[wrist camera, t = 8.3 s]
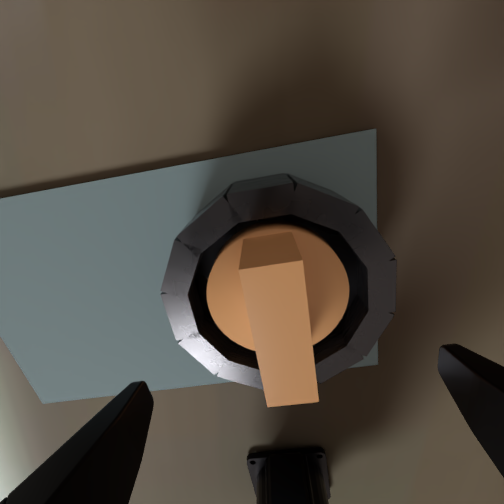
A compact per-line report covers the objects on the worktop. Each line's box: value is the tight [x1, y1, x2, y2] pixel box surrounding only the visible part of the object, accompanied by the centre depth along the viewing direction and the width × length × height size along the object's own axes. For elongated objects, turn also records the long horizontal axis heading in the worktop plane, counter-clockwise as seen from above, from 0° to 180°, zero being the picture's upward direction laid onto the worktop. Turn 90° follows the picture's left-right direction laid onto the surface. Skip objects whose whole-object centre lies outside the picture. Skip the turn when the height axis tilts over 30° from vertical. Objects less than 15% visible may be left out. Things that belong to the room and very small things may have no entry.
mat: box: [0, 129, 378, 404], centre depth 17 cm, size 15×25×1 cm, turn 100°
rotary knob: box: [206, 220, 349, 407], centre depth 11 cm, size 6×6×4 cm
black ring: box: [160, 173, 397, 390], centre depth 14 cm, size 10×10×4 cm
